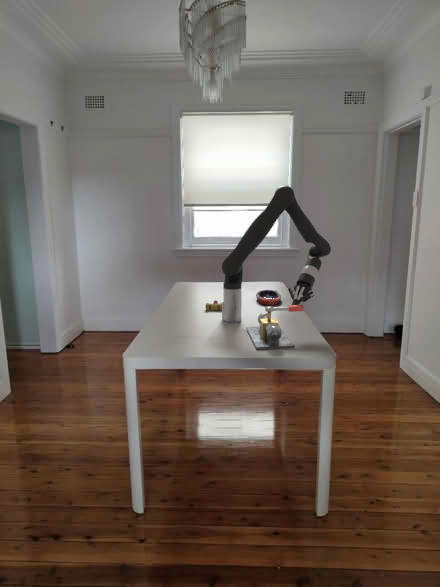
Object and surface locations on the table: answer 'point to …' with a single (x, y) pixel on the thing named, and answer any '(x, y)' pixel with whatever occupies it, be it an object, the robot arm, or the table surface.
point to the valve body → (269, 334)
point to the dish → (268, 294)
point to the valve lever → (285, 308)
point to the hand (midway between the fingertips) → (294, 307)
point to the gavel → (214, 306)
